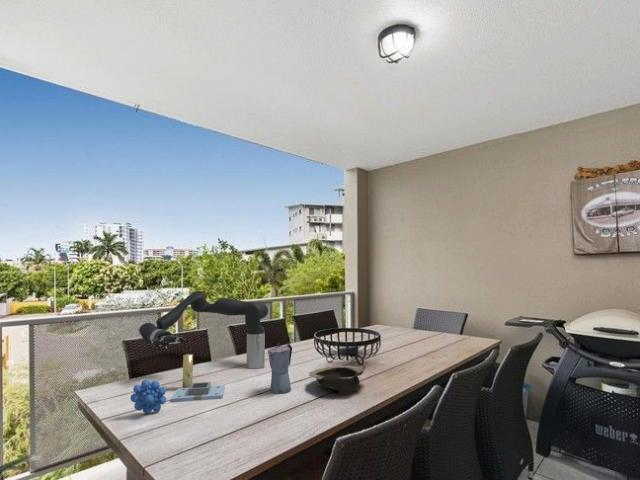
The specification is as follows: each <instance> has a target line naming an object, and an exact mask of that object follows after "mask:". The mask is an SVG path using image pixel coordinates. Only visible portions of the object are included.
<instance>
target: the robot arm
mask: <svg viewBox="0 0 640 480" xmlns="http://www.w3.org/2000/svg"><path fill="white" fill-rule="evenodd" d="M189 306H190V307H191V309H192V311H193V312H197V313H211V314H218V315H223V316H244V320H245V321H244V322H245V323H244V325H245V328H246V368H248V369H252V370H253V369H254V370H256V369H261V368H265V367H266V366H265V363H266V362H265V361H266V360H265V359H266V358H265V357H266V355H265V354H266V353H265V351H266V349H265V347H266V346H265V341H266V340H265V338H266V337H265V335H266V334H265V333H266V331H265V327H264V326H263V325H261V320H262V319H264V318H265V317H267V316H268V314H269V307H268V306H267V303H265V302H263V301H245V300H239V299H235V298H229V297H228V298H227V297H221V298H218V299H217V300H216V301H214V302H208V301H207V297H206V295H205V293H204V291H202V290H195V291H194V292H192V293H191V294H189V295H187V296H186V297H185V298H184V299H183V300H181V302H179V303H178V304H177V305H176V306H175V307H174V308H172V309H171V310H170V311H169V312H167V313H165V314H164V315H162V316H161V317H159V318H158V319H157V320H156V321H155V322H156V323H155V324H156V325H155V324H154V323H152V322H145V323H143V324H141V326H140V327H139V329H138V332H139V335H140V336H141V338H142V339H143V341H144V343H145V344H151V345H152V346H154V347H157V346H159V347H160V348H166V347H168V346H169V345H172V344H176V345H177V344H183V345H184V344H186V341H187V336H184V335H182V334H178V335H173V333H172V332H170V331H169V330H167V329H169V328H170V327H172V326H173V325H175V324H176V323H177V322H178V321H179V319H180V318H181V316H182V315H183V313H184V312H185V310H186V309H187V308H188V307H189Z"/></svg>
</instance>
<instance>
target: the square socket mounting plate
mask: <svg viewBox="0 0 640 480" xmlns="http://www.w3.org/2000/svg"><path fill="white" fill-rule="evenodd" d="M211 382H212V381H202V382H192V383H191V385H190V387H189V388H182V387H179V388H177V390H176V391H175V393H174V394H173V396H172V398H171V403H174V402H175V403H177V402H188V401H189V402H190V401H203V400H218V399H223V398H224V393H225V388H226V386H225V385H224V384H223V385H211Z"/></svg>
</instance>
